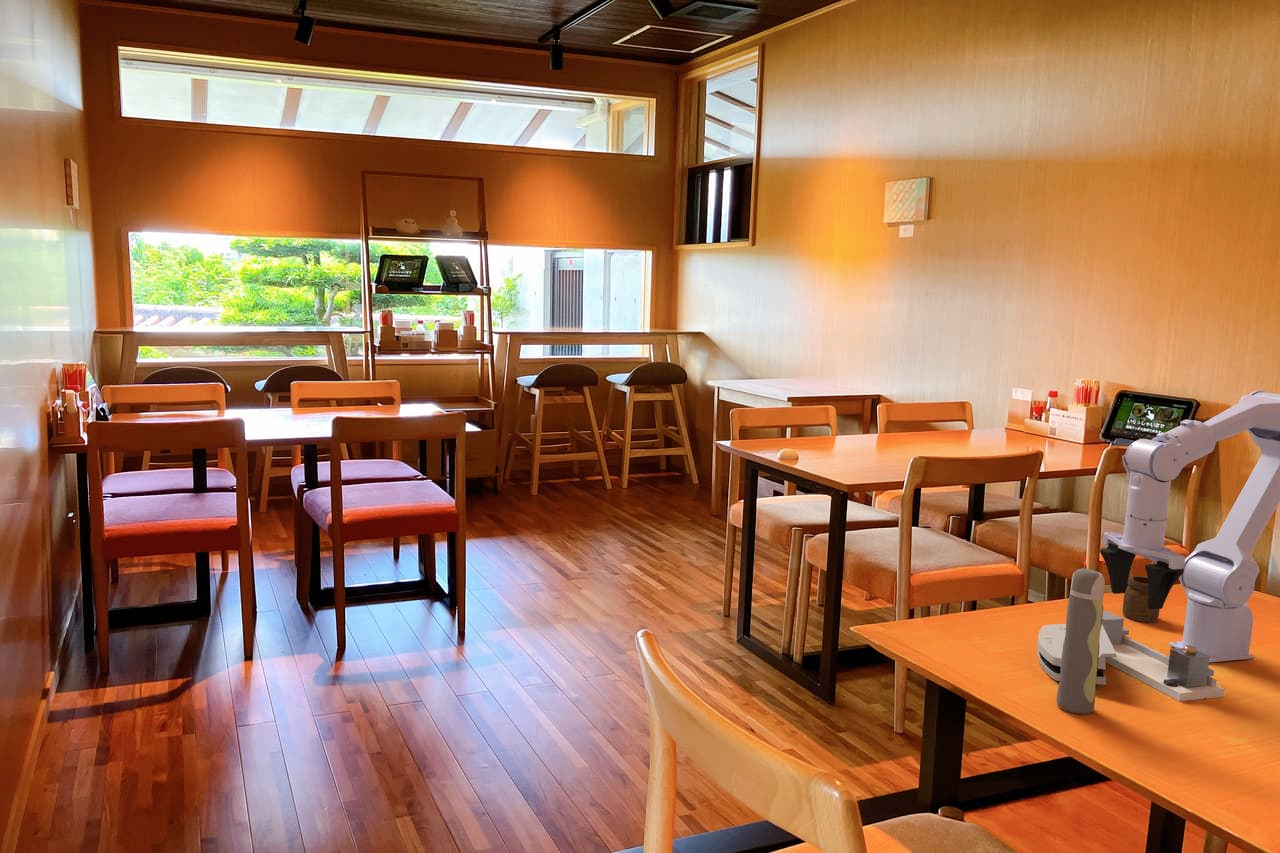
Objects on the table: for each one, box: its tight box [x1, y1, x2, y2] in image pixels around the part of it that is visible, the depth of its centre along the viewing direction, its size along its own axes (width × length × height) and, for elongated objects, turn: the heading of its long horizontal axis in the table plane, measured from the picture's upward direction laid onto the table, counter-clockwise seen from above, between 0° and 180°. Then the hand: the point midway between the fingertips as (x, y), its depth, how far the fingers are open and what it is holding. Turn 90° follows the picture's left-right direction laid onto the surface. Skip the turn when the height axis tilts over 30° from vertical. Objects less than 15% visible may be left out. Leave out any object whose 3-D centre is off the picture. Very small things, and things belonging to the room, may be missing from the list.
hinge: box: [1036, 623, 1116, 686], centre depth 153 cm, size 17×5×10 cm
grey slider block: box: [1164, 645, 1215, 687], centre depth 146 cm, size 4×7×5 cm, turn 105°
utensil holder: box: [1122, 560, 1161, 623], centre depth 178 cm, size 6×6×12 cm
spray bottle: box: [1056, 567, 1106, 715], centre depth 137 cm, size 5×5×20 cm
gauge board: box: [1102, 610, 1226, 702], centre depth 153 cm, size 22×8×6 cm, turn 16°
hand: (1136, 600), depth 156 cm, fingers open, 7 cm apart
